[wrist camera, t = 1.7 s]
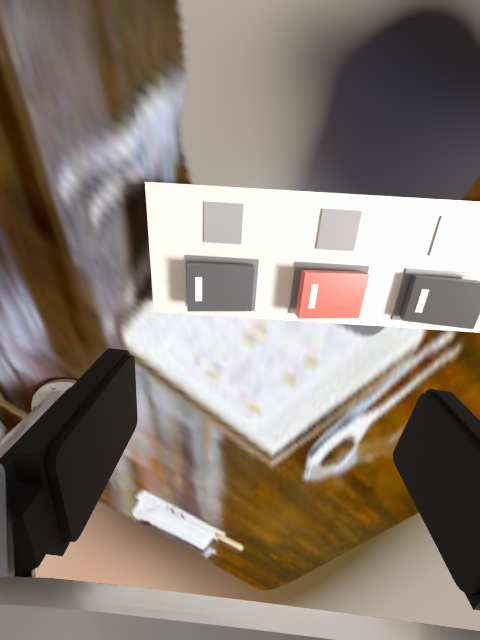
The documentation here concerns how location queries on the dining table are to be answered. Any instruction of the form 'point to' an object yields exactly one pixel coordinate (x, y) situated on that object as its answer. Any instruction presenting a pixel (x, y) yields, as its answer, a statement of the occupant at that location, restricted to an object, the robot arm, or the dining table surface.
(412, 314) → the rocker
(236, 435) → the dining table surface
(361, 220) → the rocker switch panel
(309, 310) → the red rocker
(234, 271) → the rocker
